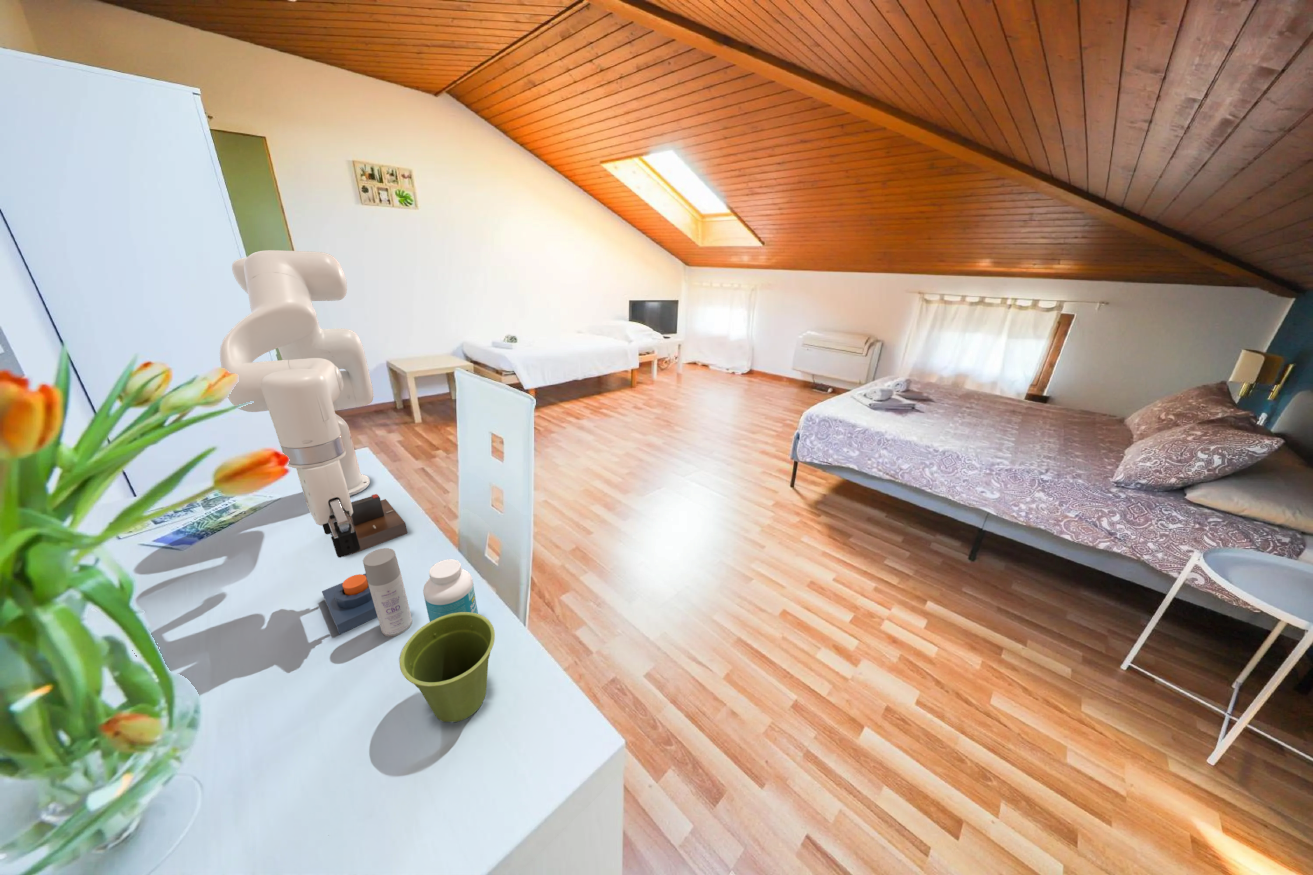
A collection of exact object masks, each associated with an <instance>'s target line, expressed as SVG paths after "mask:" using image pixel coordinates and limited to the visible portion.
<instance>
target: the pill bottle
mask: <svg viewBox="0 0 1313 875" xmlns="http://www.w3.org/2000/svg"><path fill="white" fill-rule="evenodd" d="M428 575H429V578H428V579H427V580H426V581H425V583H424V585H423V590H422V594H423V598H424V599H423V600H424V603H425V607H426V612H427V617H428V620H429V622H431V621H433V620H435V619H437V618H439V617H442V616H445V615H448V614H452V613H458V612H471V613H477V614H479V611H478V605H477V598H476V594H475V592H476V591H475V586H474V581H473V580H474V579H473V576H472V574H471V573H470V572H469V571H467V570H466V569H464V568H463V567H462V565H461V562H460V561H459V560H457V559H455V558H454V559H453V558H449V559H448V558H447V559H444V560H439V561H438V562H436V563H435V564H433V565H432V566H431V567H430V569H429V571H428Z"/></svg>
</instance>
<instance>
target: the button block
mask: <svg viewBox="0 0 1313 875" xmlns="http://www.w3.org/2000/svg"><path fill="white" fill-rule="evenodd" d="M362 575H365V576H366V572H364V573H362ZM366 578H367V576H366ZM367 582H368V581H367ZM342 584H343V582H341V583H338V584H336V585H333V586H331V587H329V588H326V589H323V590H322V591H321V593H322V596H323V598H324V602H325V604H326V606H327V609H328V611H329V614H330V616H331V618H332V620H333V623H334V625H335V628H336V630H337V632H338V634H339V635H342V634H344V633H347V632H349V631H351V630H353V629H355V628H357V627H359V626H361V625H363V624H366V623H367V622H370V621H372V620H375V619H376V618H378V617H377V613H376V610H375V606H374V603H373V599H372V596H371V592H370V589H369V585H368V587H367V589H365V590H364V591H363V592H361V593H358V594H356V595H350V596H349V595H346V594H345V592H344V589H343V586H342Z"/></svg>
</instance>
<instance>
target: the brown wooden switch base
mask: <svg viewBox="0 0 1313 875" xmlns="http://www.w3.org/2000/svg"><path fill="white" fill-rule="evenodd" d="M380 500H381V504H382V508H383V512H384V516H382V517H379V518H376V519H373V520H369V521H366V522H363V523H360V524H357V525H354V524H353V522H352V519H351V516H349V517H350V520H351V523H352V525H353V528H354V529H355V531H356V534H357V538H358V542H359V545H360V550H359V551H357V552H354V553H351V555H354V554H357V553H359V552H362V551H365V550H367V549H370V548H373V547H375V546H378V545H381V544H383V543H386V542H389V541H391V540H394V539H396V538H399V537H402V536H405V535H408V528H407V525H406V521H404V519H403V518H402V517H401V516H400V514H399V513H398V512H397V511H396V510H395V508H394V507H393V506H392V505H391V503H390V502H389V501H388V500H387V499H386V498H384V499H380Z"/></svg>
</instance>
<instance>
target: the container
mask: <svg viewBox="0 0 1313 875" xmlns="http://www.w3.org/2000/svg"><path fill="white" fill-rule="evenodd" d="M362 564H363V568H364V573H366V576H367V581H368V585H369V589H370V592H371V596H372V599H373V603H374V606H375V610H376V613H377V617H376V618H377V620H378V623H379V627H380V630H381V633H382V635H383V636H385V637H390V638H391V637H396V636H400V635H401V634H403V633H405V632H406V631H408V630H409V629H410V628H411V627H412V624H413V619H412V618H413V617H412V613H411V609H410V605H409V600H408V596H407V593H406V588H405V584H404V580H403V576H402V571H401V568H400V565H399V561H398V558H397V555H396V551H395V549H393V548H389V547H384V548H378V549H375V550H373V551H371V552H369V553H367V554H366V555H365V556H364V557H363V559H362Z"/></svg>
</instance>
